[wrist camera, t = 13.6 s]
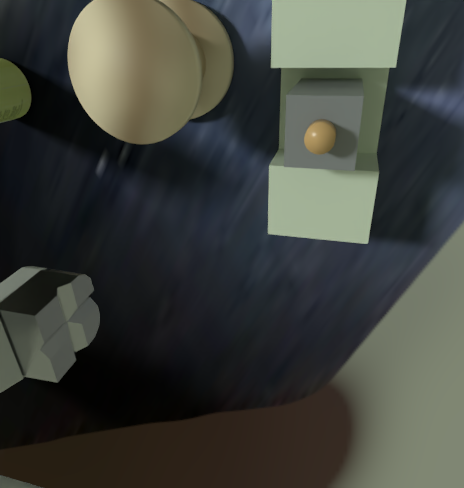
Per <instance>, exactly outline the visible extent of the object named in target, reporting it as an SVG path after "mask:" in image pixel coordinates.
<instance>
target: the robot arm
mask: <svg viewBox="0 0 464 488" xmlns="http://www.w3.org/2000/svg"><path fill="white" fill-rule="evenodd" d="M93 291H94V289H93V286H92V282H91V279H90V278H89V277H87V276H86V275H84V274H78V273H72V272H66V271H60V270H54V269H45V268H40V267H33V266H28V267H22V268H21V269H19V270H18V271H17V272H15V273H14V274H13V275H11V276H10V277H9V278H7V279H6V280H5V281H3V282H2V283H1V284H0V393H1V392H2V391H4V390H5V389H7V388H9V387H10V386H12V385H14V384H15V383H17V382H19V381H20V380H22V379H23V376H24V377H29V378H35V379H40V380H46V381H51V382H57V383H58V382H59V380H60V379H61V378H62V377H63V376H64V374H65V373H66V372H67V371H68V369H69V368H70V367H71V366H72V365H73V363H74V362H75V361H76V352H77V351H79V350H81V349H83V348H85V347H87V346H88V345H89V344H90V342H91V341H92V340H93V338H94V337H95V335H96V332H97V329H98V327H99V317H100V314H99V310H98V306H97V305H96V304H95V303H94V301H93V300H92V299H91V298H90V296H91V295H92V293H93ZM0 488H42V487H38V486H35V485H32V484H28V483H25V482H22V481H18V480H15V479H11V478H8V477H4V476H1V475H0Z"/></svg>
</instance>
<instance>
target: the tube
mask: <svg viewBox="0 0 464 488" xmlns="http://www.w3.org/2000/svg"><path fill="white" fill-rule="evenodd" d="M30 105H31V91H30V87H29V84H28V81H27V80H26V78H25V76H24V75H23V73H22V72H21V71H20V69H19V68H18V67H17V66H15V65H14V64H13V63H11V62H10V61H8V60H5V59H2V58H0V123H1V122H6V121H10V120H13V119H17V118H20V117H22V116H24V115H25V114H26V113H27V112H28V110H29V108H30Z"/></svg>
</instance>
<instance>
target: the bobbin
mask: <svg viewBox="0 0 464 488" xmlns="http://www.w3.org/2000/svg"><path fill="white" fill-rule="evenodd" d="M68 67H69V74H70V78H71V82H72V85H73V88H74V90H75V93H76V95H77V97H78V99H79V101H80V103H81V105H82V106H83V108H84V110H85V111H86V112H87V113H88V115H89V116H90V117H91V118H92V120H93V121H94V122H95V123H96V124H97V125H98V126H100V127H101V128H102V129H103V130H104V131H106V132H107V133H109V134H110V135H112V136H114V137H116V138H118V139H120V140H123V141H125V142H129V143H134V144H151V143H156V142H159V141H162V140H164V139H166V138H168V137H170V136H171V135H173V134H174V133H176V132H177V131H179V130H180V129H181V128H182V127H183V126H184V125H185V124H186V123H187V122H188V121H189V120H190V119H194V118H197V117H200V116H202V115H204V114H206V113H207V112H209V111H210V110H212V109H213V108H214V107H216V106H217V105H218V104H219V103H220V102H221V100H222V99H223V98H224V96H225V95H226V93H227V91H228V89H229V87H230V84H231V81H232V77H233V71H234V54H233V48H232V44H231V41H230V38H229V35H228V33H227V31H226V29H225V27H224V26H223V24H222V22H221V21H220V20H219V18H218V17H217V16H216V15H215V14H214V13H213V12H212V11H211V10H210V9H208V8H207V7H206V6H204V5H202V4H200V3H199V2H196V1H193V0H93V1H92V2H91V3H90V4H88V5H87V6H86V7H85V8H84V9H83V11H82V12H81V13H80V15H79V16H78V18H77V19H76V21H75V23H74V26H73V28H72V31H71V34H70V38H69V44H68Z"/></svg>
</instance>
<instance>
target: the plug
mask: <svg viewBox="0 0 464 488" xmlns="http://www.w3.org/2000/svg"><path fill="white" fill-rule="evenodd" d="M363 100H364V91H363V81H362V79H344V78H301V79H300V80H299V82H298V83H297V84H296V85H295V86H294V87H293V88H292V89H291V91H290V92H289V93H288V94H287V95H286V119H285V147H284V167H292V168H310V169H328V170H345V171H355V164H356V156H357V148H358V140H359V132H360V124H361V116H362V108H363Z"/></svg>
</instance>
